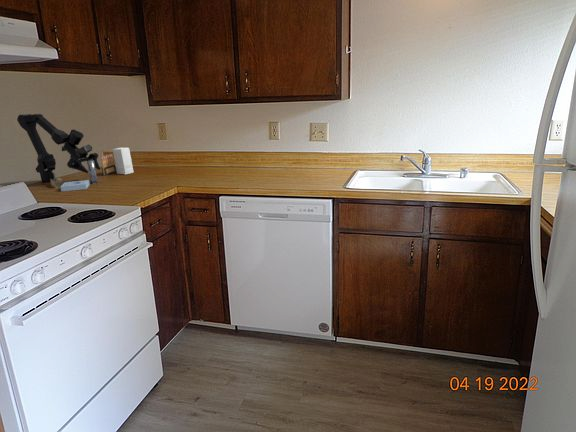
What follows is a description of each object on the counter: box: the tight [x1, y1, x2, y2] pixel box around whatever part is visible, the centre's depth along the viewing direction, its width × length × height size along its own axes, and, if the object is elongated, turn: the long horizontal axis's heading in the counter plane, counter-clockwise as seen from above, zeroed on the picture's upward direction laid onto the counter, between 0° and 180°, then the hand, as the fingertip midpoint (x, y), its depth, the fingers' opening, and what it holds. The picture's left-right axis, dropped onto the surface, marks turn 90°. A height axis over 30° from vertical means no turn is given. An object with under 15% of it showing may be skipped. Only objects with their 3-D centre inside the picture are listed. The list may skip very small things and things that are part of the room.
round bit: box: [86, 160, 99, 185], centre depth 233 cm, size 4×4×12 cm
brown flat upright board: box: [100, 153, 117, 177], centre depth 257 cm, size 11×2×12 cm, turn 165°
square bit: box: [50, 177, 64, 189], centre depth 231 cm, size 9×4×4 cm, turn 41°
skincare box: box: [112, 147, 134, 175], centre depth 257 cm, size 8×7×16 cm
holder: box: [60, 179, 91, 192], centre depth 224 cm, size 12×12×2 cm
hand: (93, 170), depth 232 cm, fingers open, 9 cm apart
